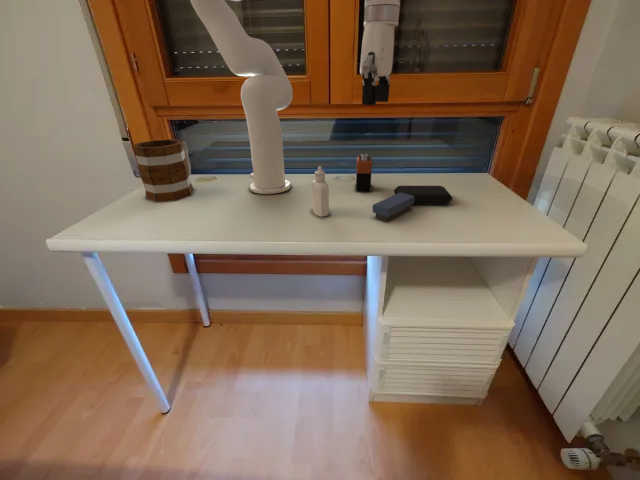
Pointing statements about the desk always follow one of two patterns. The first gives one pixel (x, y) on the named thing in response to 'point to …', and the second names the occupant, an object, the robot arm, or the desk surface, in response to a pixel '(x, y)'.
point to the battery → (363, 173)
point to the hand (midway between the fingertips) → (375, 103)
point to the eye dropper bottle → (320, 194)
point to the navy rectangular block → (393, 206)
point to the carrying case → (426, 194)
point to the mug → (164, 169)
